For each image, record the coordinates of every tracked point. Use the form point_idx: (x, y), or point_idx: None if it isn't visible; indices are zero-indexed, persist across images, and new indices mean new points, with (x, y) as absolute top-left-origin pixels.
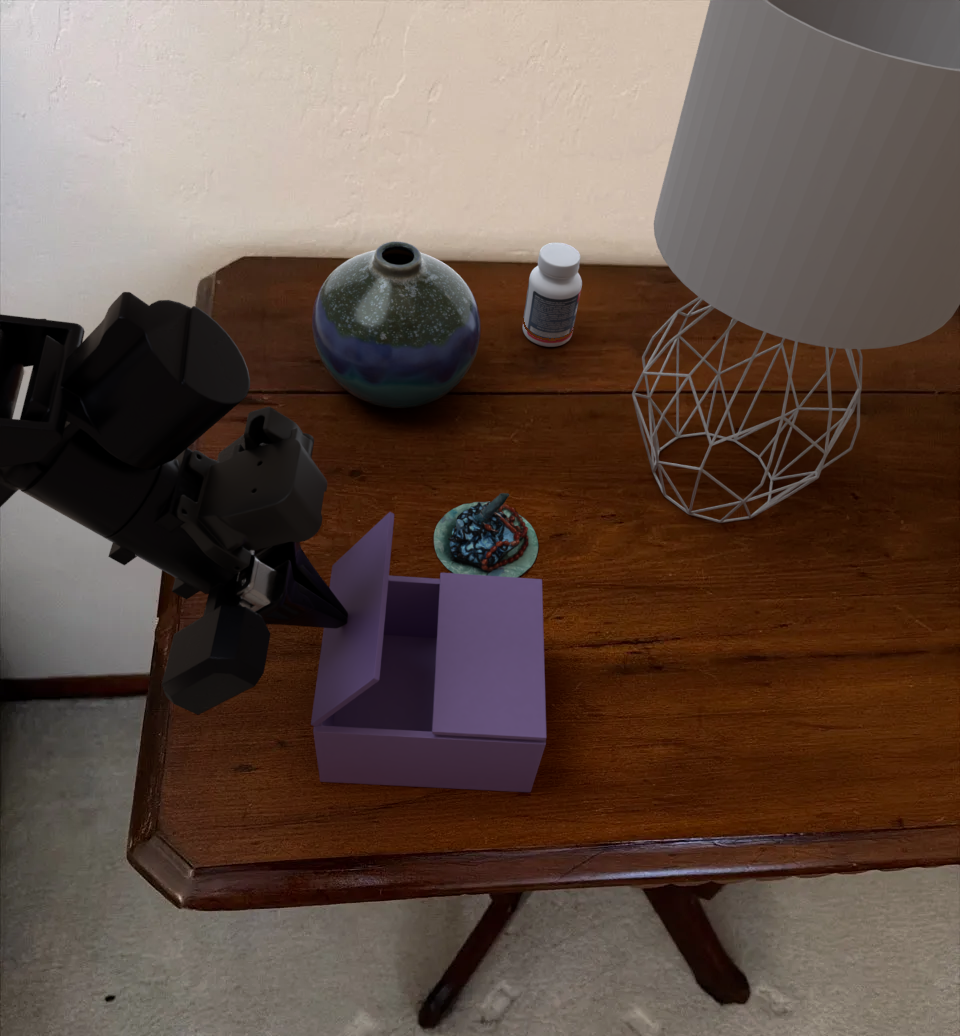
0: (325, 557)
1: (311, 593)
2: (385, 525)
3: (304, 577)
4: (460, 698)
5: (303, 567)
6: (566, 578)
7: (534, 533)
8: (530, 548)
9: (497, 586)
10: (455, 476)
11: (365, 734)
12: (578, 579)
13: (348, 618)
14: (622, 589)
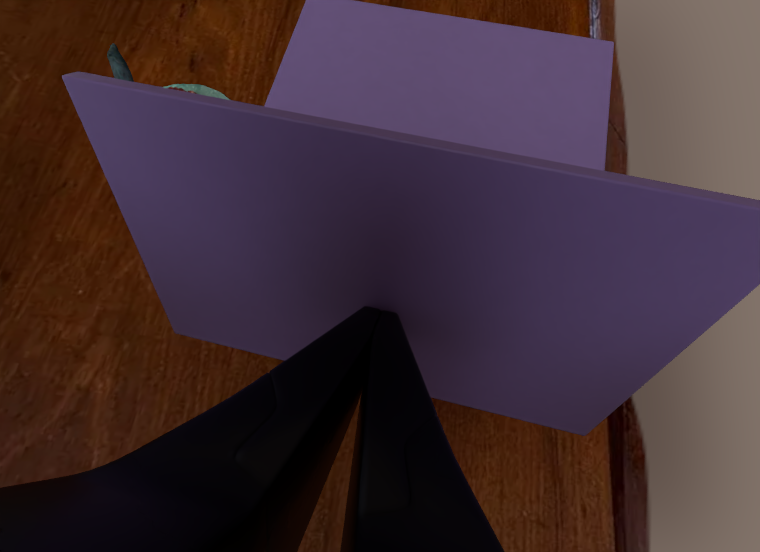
0: (129, 349)
1: (376, 420)
2: (116, 106)
3: (298, 449)
4: (534, 146)
5: (249, 455)
6: (256, 68)
7: (181, 85)
8: (202, 93)
9: (308, 53)
10: (54, 155)
11: None
12: (261, 57)
13: (383, 306)
14: (287, 20)
